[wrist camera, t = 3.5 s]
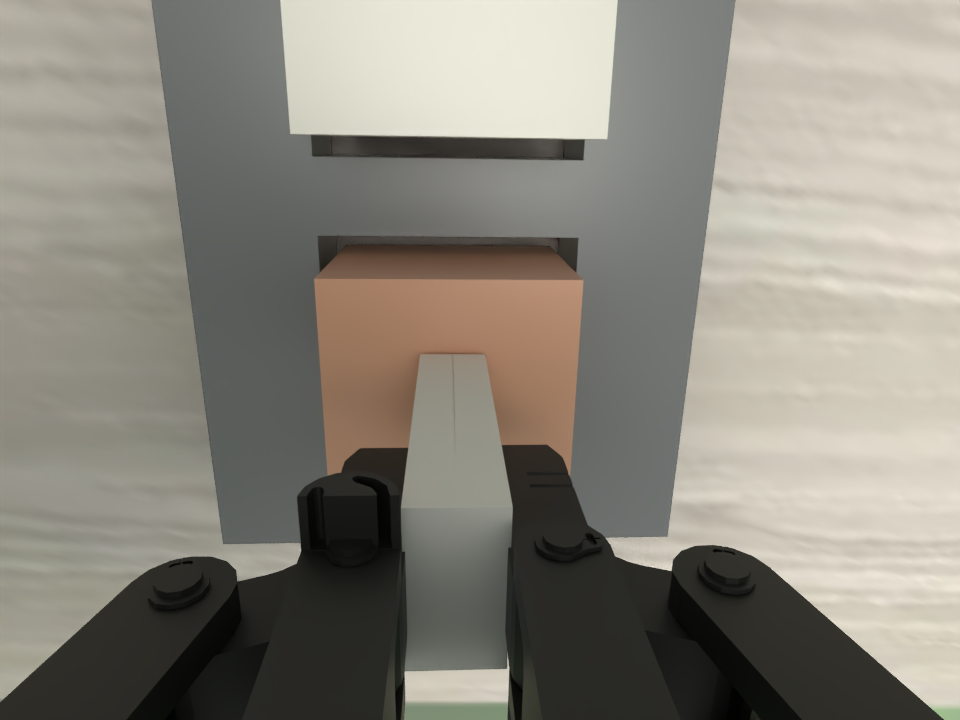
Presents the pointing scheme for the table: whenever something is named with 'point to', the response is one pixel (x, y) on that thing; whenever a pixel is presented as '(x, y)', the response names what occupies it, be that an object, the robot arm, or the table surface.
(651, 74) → the key panel
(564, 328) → the key terracotta
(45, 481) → the table surface
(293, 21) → the key white
